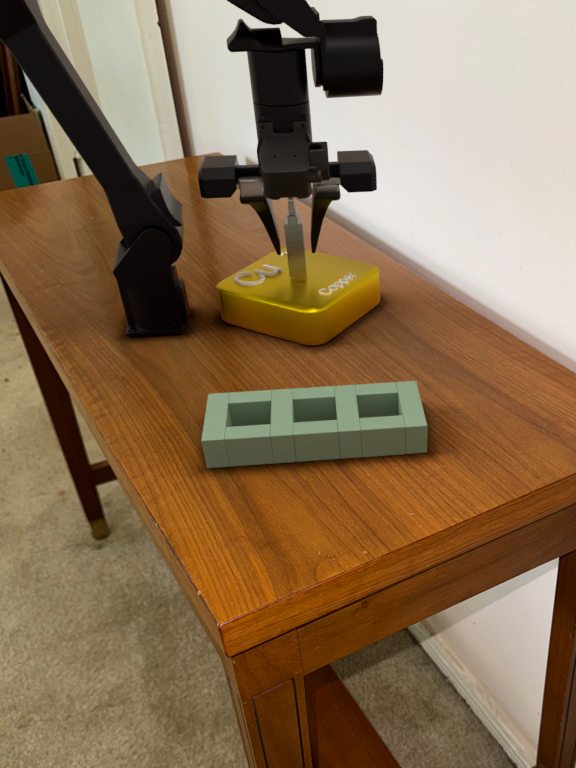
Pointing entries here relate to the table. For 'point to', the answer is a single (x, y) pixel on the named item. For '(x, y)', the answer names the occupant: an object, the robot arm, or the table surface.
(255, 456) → the rack
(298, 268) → the flat stepped stick
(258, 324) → the element tile
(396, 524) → the table surface
